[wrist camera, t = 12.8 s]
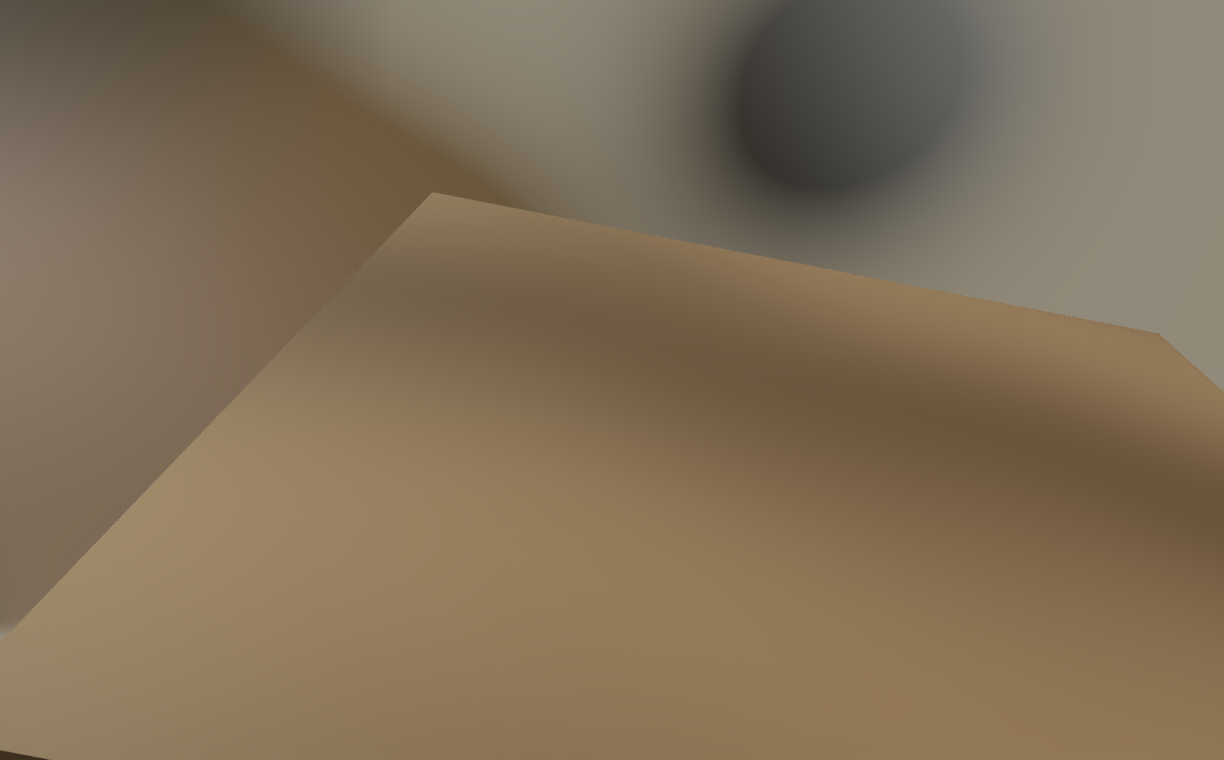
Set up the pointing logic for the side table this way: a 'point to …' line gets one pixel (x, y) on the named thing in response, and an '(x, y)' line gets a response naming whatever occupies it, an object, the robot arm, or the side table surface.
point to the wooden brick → (655, 527)
